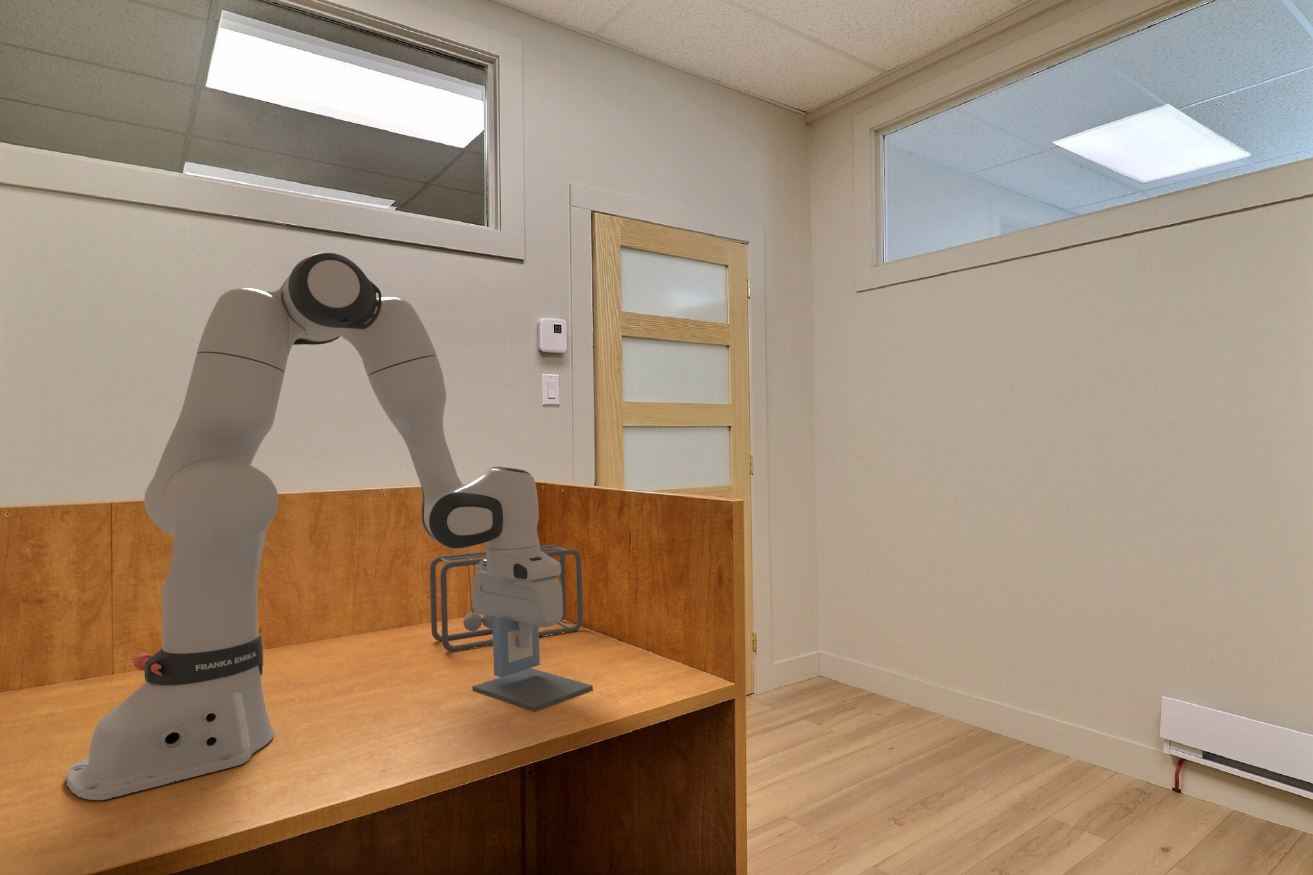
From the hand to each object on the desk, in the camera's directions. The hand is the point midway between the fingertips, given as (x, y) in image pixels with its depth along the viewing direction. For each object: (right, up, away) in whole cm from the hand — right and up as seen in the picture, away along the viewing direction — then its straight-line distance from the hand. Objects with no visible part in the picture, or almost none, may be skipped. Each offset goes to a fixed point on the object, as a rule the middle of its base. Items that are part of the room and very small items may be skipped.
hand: (516, 645), depth 119 cm
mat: (+3, -6, -3) cm, 8 cm away
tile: (0, -4, 0) cm, 4 cm away
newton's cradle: (-8, -8, +32) cm, 34 cm away
